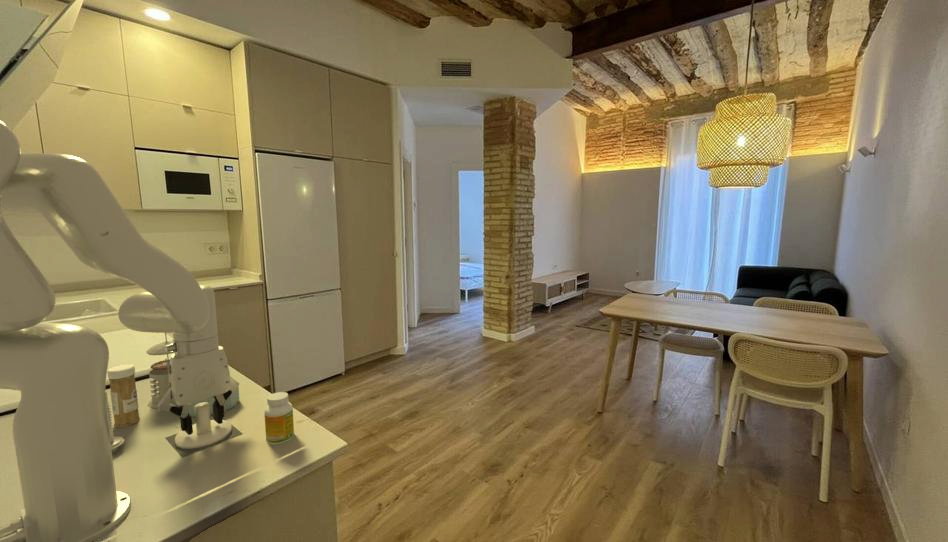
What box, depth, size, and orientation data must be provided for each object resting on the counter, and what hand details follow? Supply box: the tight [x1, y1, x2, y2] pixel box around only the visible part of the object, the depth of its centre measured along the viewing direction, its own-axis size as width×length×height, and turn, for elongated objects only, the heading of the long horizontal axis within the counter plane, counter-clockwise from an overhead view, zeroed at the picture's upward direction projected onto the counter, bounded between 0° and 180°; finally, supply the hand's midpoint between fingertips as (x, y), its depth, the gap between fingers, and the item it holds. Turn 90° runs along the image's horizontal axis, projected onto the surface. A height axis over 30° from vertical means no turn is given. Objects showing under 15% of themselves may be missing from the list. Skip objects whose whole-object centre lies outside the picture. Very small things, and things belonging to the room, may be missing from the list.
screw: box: [105, 391, 125, 454], centre depth 77 cm, size 13×5×5 cm
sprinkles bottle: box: [107, 364, 141, 428], centre depth 88 cm, size 5×5×13 cm
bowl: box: [189, 382, 240, 418], centre depth 97 cm, size 11×11×5 cm
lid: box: [175, 402, 232, 449], centre depth 84 cm, size 10×10×7 cm
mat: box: [165, 417, 244, 458], centre depth 84 cm, size 11×11×1 cm
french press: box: [145, 333, 178, 409], centre depth 99 cm, size 10×12×25 cm
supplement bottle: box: [264, 391, 295, 445], centre depth 83 cm, size 5×5×10 cm
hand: (203, 426), depth 84 cm, fingers open, 4 cm apart
